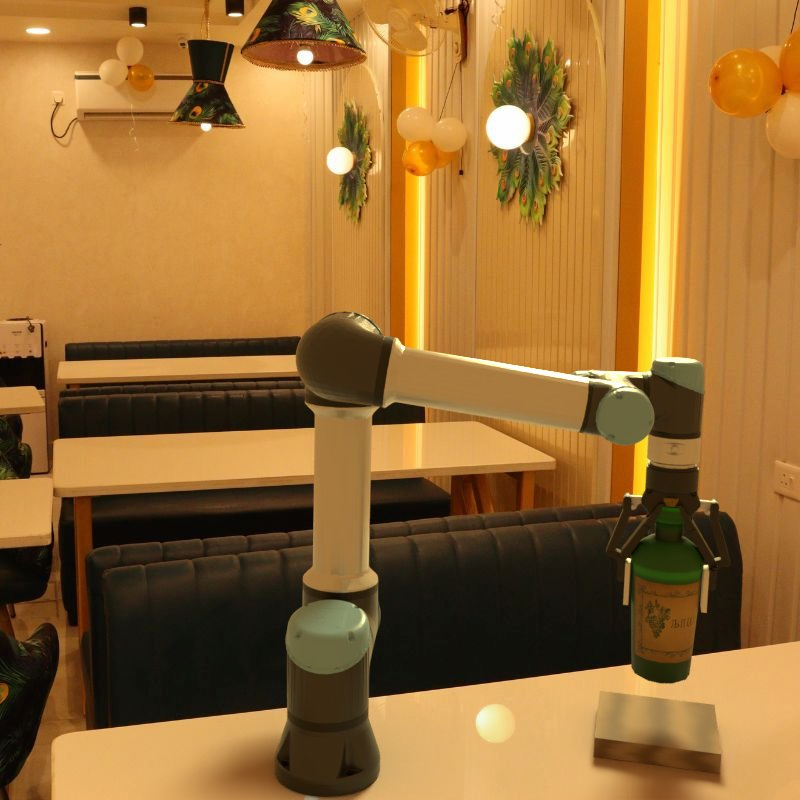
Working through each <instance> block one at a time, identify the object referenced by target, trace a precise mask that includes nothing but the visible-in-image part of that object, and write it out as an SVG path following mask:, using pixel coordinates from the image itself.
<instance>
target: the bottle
mask: <svg viewBox="0 0 800 800" xmlns="http://www.w3.org/2000/svg"><path fill="white" fill-rule="evenodd" d="M678 500H679V498H668V497H664V503H665V505H666V507H662V510H661V513H660V514H659V515H658V516H657V518H656V522H655V524H654V533H651V534H649V535H648V536H644V537H643V538H642V540H641V541H640V542H639V544H638V545H637V546H636V547H635V549H634V550H633V551H632V553H631V554H630V558H631V564H630V631H631V632H630V637H631V638H630V641H631V642H630V648H631V649H630V651H631V652H630V653H631V656H630V659H631V660H630V661H631V662H630V664H631V669H632V671H633V672H634V674H635V675H637V676H639V677H640V678H642V679H644V680H646V681H647V682H652V683H656V684H669V685H671V684H676V683H678V682H682V681H686V680H687V678H688V677H689V676H690V674H691V665H692V660H693V659H692V657H693V649H694V644H695V643H694V642H695V633H696V627H697V618H698V612H699V602H700V598H701V589H702V574H703V566H704V565H705V559H704V558H703V556H702V554H701V552H700V551H699V549H698V547H697V546H696V544H695V542H692V540H690V539H689V538H687V537H686V536H683V534H684V529H685V526H684V525H683V523H684V520H683V516H681V515H680V510H679V508H675V507H676V504H677V503H678ZM684 509H685V508H684Z"/></svg>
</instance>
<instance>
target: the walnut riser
mask: <svg viewBox="0 0 800 800" xmlns="http://www.w3.org/2000/svg"><path fill="white" fill-rule="evenodd" d="M598 696H599V697H598V702H597V703H598V704H597V713H596V722H595V733H594V741H593V742H594V744H593V757H596V758H603V759H611V760H617V761H618V760H619V761H625V762H631V763H639V764H647V765H655V766H661V767H662V766H663V767H670V768H678V769H684V770H691V771H700V772H707V773H713V774H721V765H722V750H721V741H720V734H719V729H718V720H717V713H716V705H715V704H712V703H704V702H703V703H702V702H695V701H686V700H677V699H672V698H671V699H670V698H662V697H653V696H647V695H646V696H645V695H636V694H629V693H621V692H620V693H619V692H612V691H604V690H599V695H598Z"/></svg>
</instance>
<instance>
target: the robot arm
mask: <svg viewBox="0 0 800 800" xmlns="http://www.w3.org/2000/svg"><path fill="white" fill-rule="evenodd" d="M295 350H296V351H295V366H296V370H297V373H298V375H299V378H300V380H301V381H302V382H303V383H302V384H304V405H306V406H307V407H308V408H309V409H310V410H311V411H312V412H313V414H314V445H313V446H314V456H313V458H314V460H313V465H314V466H313V519H312V520H313V527H312V528H313V529H312V531H313V536H312V537H313V538H312V542H313V543H312V566H311V567H310V568H309V569H308V570H307V571H306V572H305V573H304V574H303V576H302V606H300V607H299V608H297V609H296V610H295V612H293V613H292V615H291V616H290V618H289V620H288V623H287V630H286V634H285V639H284V640H285V649H286V705H287V706H286V707H287V708H286V722H285V724H284V726H283V727H284V728H283V731H282V733H281V736H280V739H279V743H278V746H277V748H276V751H275V755H274V773H275V777H276V778H277V780H278V781H279V783H280V784H281V785H283V786H284V787H285V788H287V789H289V790H290V791H292V792H295V793H297V794H301V795H305V796H309V797H316V798H317V797H318V798H336V797H340V796H341V797H342V796H346V795H350V794H351V795H352V794H354V793H357V792H359V791H361V790H364V789H365V788H368V787H369V786H370V785H372V784H373V783H374V782H375V780H377V778H378V777H379V775H380V771H381V751H380V749H379V745H378V743H377V740H376V736H375V733H374V730H373V727H372V725H371V722H370V718H369V717H370V715H369V709H370V708H369V707H370V706H369V704H370V703H369V701H370V699H369V698H370V666H371V660H372V654H373V650H374V647H375V641H376V636H377V634H378V630H379V628H380V624H381V608H380V602H379V576H378V574H377V573H376V572H375V571H374V570H373V569H372V568H371V567H370V526H371V525H370V522H371V521H370V519H371V483H372V482H371V481H372V480H371V479H372V478H371V477H372V475H371V474H372V473H371V471H372V436H373V435H372V434H373V433H372V431H373V415H374V414H375V412H376V411H377V410H378V409H379V408H383V409H386V408H387V407H388V406H390V405H391V404H393V403H401V404H406V405H413V406H417V407H424V408H431V409H436V410H443V411H448V412H454V413H459V414H460V413H461V414H467V415H472V416H477V417H485V418H489V419H490V418H491V419H495V420H503V421H509V422H514V423H520V424H525V425H526V424H527V425H532V426H538V427H546V428H550V429H557V430H563V431H567V432H575V433H579V434H580V433H581V434H583V435H589V436H596V437H601V438H603V439H605V440H606V441H609V442H610V443H613V444H615V445H619V446H632V445H636V444H637V443H640V442H642V441H643V440H645V438H646V437H647V450H646V451H647V452H646V453H647V454H646V458H647V459H648V460H649V462H647V464H646V466H645V467H646V469H645V484H644V491H643V493H642V494H641V495H638V494H637V495H636V494H631V493H630V492H625V493H624V494H623V498H622V499H623V500H622V501H623V502H622V509H621V511H620V514H619V517H618V520H617V521H616V523H615V526H614V529H613V531H612V533H611V536H610V538H609V540H608V543H607V546H606V547H605V548H606V549H605V556H607V557H608V558H612V559H614V560H616V563H617V565H616V567H617V568H616V581H617V582H619V583H620V582H621V583H624V584H623V599H622V605H623V606H629V597H630V583H631V557H630V556H631V553H632V551H633V550H634V549H635V547H636V546H637V545H638V544H639V542H640V541H641V540H642V539H643V538H645V537H646V534H648V532H649V531H650V529H652V528H653V526H655V522H656V518H657V516H658V515H659V514H660V513H661V510H662V507H666V505H665V503H664V497H668V498H679V500H678V503H677V504H676V507H675V508H679V510H680V515H681V516H683V520H684V523H683V525H684V528H685V529H686V531H687V533H688V534H689V535H690V537H691V539H692V540H693V543H694V544H695V545H696V546H697V547H698V549H699V551H700V552H701V554H702V556H703V558H704V562H706V564H704V566H703V574H702V582H701V590H700V613H705V614H707V612H708V611H707V610H708V598H709V597H708V596H709V591H715V590H716V588H717V582H718V581H717V578H718V571H719V569H722V568H729V567H730V566H731V564H732V561H731V558H730V554H729V551H728V547H727V543H726V540H725V536H724V533H723V530H722V529H723V528H722V526H721V524H720V520H719V514H720V505H719V501H718V500H717V499H716V498H711V500H707V499H700V497H699V495H698V490H699V477H700V468H699V467H698V465H697V464H698V463H699V462H700V460H701V447H702V446H701V445H702V443H701V441H702V424H703V423H702V421H703V412H704V399H705V395H706V390H705V366H704V365H703V363H702V362H701V361H699V360H697V359H693V358H687V357H676V356H675V357H673V356H672V357H671V356H670V357H658V358H655V359H654V360H653V361H652V363H651V367H650V371H649V370H648V371H640V372H639V371H614V370H613V371H611V370H596V369H590V370H576V371H573V372H571V374H567V373H562V372H556V371H549V370H543V369H536V368H531V367H527V366H526V367H525V366H520V365H514V364H507V363H502V362H496V361H491V360H483V359H478V358H471V357H466V356H459V355H455V354H449V353H442V352H437V351H431V350H427V349H426V350H425V349H419V348H412V347H408V346H407V347H406V346H404V345H403V344H402V343H401V341H400V339H399V338H398V337H395V336H388V335H384V334H383V332H382V330H381V329H380V327H379V326H378V325H377V324H376V323H375V322H374V321H373V320H372V319H371V318H369V317H368V316H365V315H364V314H361V313H358V312H354V311H347V310H345V311H334V312H332V313H329V314H327V315H325V316H324V317H322V318H320V320H318V321H317V322H315V323H314V324H312V325H311V326H310V327H309V328H307V330H306V331H304V333H303V334H302V336H301V338H300V340H299V341H298V344H297V347H296V349H295ZM640 504H641V505H642V506H643V507H644V509H645V510H646V512H647V514H646V515H645V516H644V517H643V519H642V521H640V523H639V524H638V526H637V527H636V528H635V529H634V531H633V533H632V534H631V535H630V536H629V538H627V540H626V541H625V543H624V544H623V545H622V546H621V548H618V545H619V544H620V541H621V539H622V536H623V533H624V531H625V529H626V527H627V524H628V522H629V519H630V517H631V513H632V511H634V510H636V509H637V507H638V505H640ZM684 508H685V509H684ZM699 509H702V510H703V512H704V515H706V516H708V517H709V521H710V525H711V529H712V533H713V536H714V540H715V543H716V547H717V551H718V553H719V556H718V557H717V556H716V557H715V555H714V554H713V551H712V550H711V549H710V547H709V545H708V543H707V541H706V540H705V538H704V537H703V535H702V533H701V531H700V529H699V527H698V525H697V524H696V522H695V520H694V519H693V516H694V515H695V514H696V512H697V511H698V510H699ZM629 557H630V558H629Z"/></svg>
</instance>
